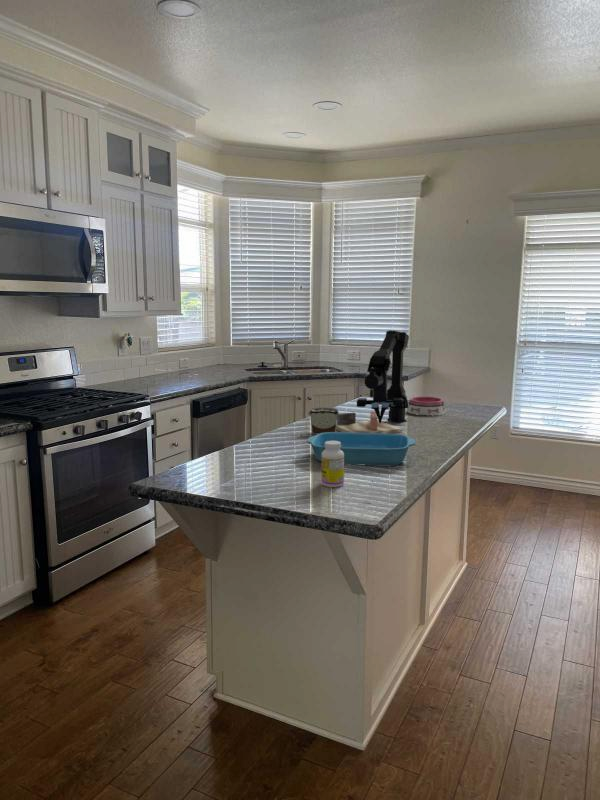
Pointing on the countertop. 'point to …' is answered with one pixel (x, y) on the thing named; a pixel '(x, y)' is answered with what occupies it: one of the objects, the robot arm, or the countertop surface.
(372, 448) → the casserole dish
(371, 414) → the latch bar
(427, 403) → the dog bowl
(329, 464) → the supplement bottle
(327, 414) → the food container
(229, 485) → the countertop surface
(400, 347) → the robot arm
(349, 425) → the latch board
